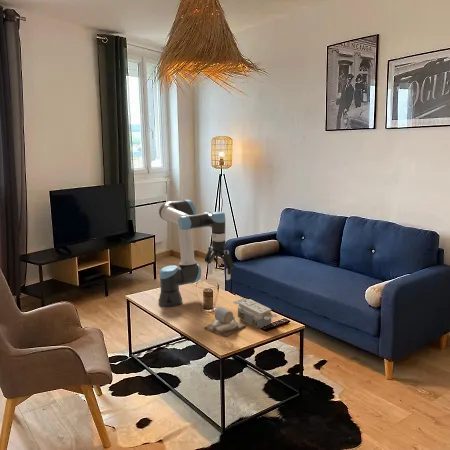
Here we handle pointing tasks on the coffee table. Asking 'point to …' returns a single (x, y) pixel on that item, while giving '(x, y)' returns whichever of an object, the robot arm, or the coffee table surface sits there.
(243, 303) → the electrical outlet
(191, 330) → the coffee table surface
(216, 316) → the ceramic mug
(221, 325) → the pedestal
